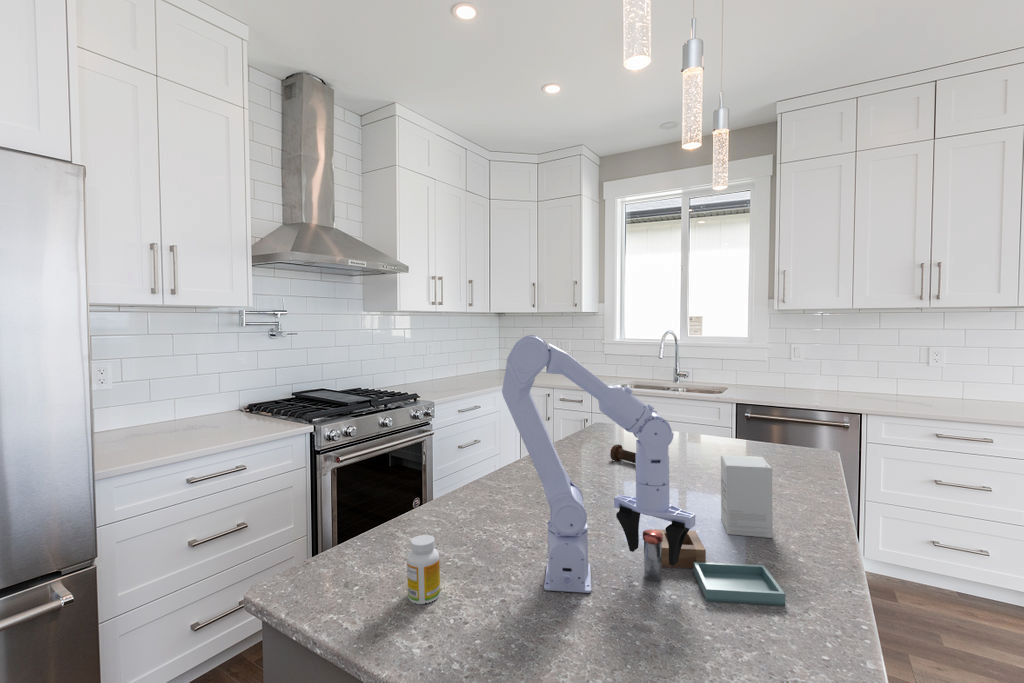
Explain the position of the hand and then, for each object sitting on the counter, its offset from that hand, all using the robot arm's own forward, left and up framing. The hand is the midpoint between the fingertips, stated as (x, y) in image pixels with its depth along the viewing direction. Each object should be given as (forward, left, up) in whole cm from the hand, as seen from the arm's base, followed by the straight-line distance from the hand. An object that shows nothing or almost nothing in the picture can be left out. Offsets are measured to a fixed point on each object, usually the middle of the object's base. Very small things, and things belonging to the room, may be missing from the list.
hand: (653, 556), depth 86 cm
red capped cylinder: (0, 0, -4) cm, 4 cm away
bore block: (+8, -6, -4) cm, 11 cm away
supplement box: (+23, -23, -4) cm, 33 cm away
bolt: (+68, -4, -4) cm, 69 cm away
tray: (-2, -13, -4) cm, 14 cm away
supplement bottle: (-10, +39, -4) cm, 41 cm away
